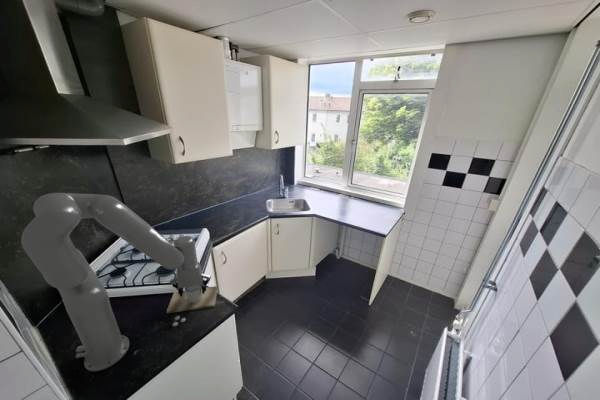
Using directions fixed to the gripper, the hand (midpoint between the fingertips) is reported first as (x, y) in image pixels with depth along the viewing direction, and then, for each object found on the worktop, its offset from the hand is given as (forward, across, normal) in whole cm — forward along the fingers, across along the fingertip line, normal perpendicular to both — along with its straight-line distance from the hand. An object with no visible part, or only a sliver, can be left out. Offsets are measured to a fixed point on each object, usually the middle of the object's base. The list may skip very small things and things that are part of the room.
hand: (193, 293), depth 104 cm
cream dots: (+4, -4, -11) cm, 12 cm away
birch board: (+4, 0, 0) cm, 4 cm away
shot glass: (+3, 0, 0) cm, 3 cm away
